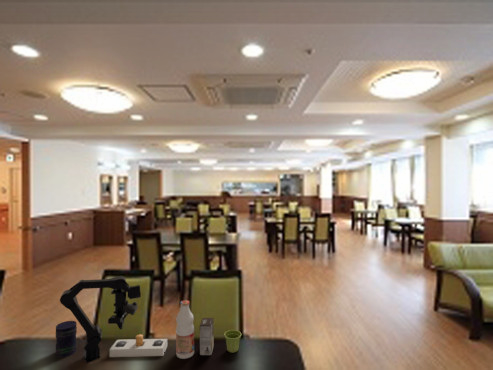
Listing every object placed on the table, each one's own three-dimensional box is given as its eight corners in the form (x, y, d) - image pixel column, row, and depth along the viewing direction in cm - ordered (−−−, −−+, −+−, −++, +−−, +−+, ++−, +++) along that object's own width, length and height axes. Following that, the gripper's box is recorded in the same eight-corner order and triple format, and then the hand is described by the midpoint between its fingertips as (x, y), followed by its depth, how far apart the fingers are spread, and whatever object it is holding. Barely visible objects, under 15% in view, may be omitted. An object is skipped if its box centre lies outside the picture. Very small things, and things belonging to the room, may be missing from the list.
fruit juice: (173, 352, 161) (173, 301, 161) (190, 347, 166) (189, 297, 166) (180, 361, 153) (179, 306, 153) (197, 355, 159) (196, 302, 159)
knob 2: (152, 350, 161) (152, 344, 161) (155, 346, 165) (154, 340, 165) (160, 350, 161) (160, 344, 161) (163, 346, 166) (162, 340, 166)
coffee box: (202, 346, 168) (202, 317, 168) (213, 346, 168) (213, 317, 168) (199, 355, 159) (199, 325, 159) (211, 355, 159) (211, 325, 159)
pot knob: (134, 347, 161) (134, 337, 161) (137, 343, 165) (137, 334, 165) (141, 346, 161) (141, 337, 161) (144, 343, 165) (144, 333, 165)
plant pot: (242, 345, 168) (242, 330, 168) (240, 355, 159) (240, 338, 159) (225, 344, 169) (225, 329, 169) (222, 354, 160) (222, 338, 160)
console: (109, 357, 158) (109, 349, 158) (117, 346, 168) (117, 339, 168) (163, 355, 158) (163, 348, 158) (167, 345, 168) (167, 338, 168)
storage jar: (60, 359, 156) (59, 331, 156) (52, 353, 162) (52, 325, 162) (80, 351, 164) (80, 323, 164) (72, 345, 170) (72, 319, 170)
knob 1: (115, 351, 160) (115, 345, 160) (118, 347, 165) (118, 341, 165) (123, 351, 161) (123, 345, 161) (126, 347, 165) (126, 340, 165)
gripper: (129, 307, 154) (129, 337, 154) (141, 293, 172) (141, 320, 172) (107, 307, 153) (107, 338, 153) (121, 294, 172) (122, 321, 172)
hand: (121, 329), depth 163 cm, fingers closed
